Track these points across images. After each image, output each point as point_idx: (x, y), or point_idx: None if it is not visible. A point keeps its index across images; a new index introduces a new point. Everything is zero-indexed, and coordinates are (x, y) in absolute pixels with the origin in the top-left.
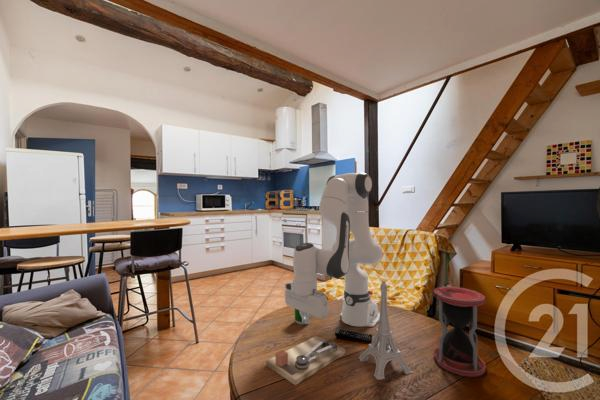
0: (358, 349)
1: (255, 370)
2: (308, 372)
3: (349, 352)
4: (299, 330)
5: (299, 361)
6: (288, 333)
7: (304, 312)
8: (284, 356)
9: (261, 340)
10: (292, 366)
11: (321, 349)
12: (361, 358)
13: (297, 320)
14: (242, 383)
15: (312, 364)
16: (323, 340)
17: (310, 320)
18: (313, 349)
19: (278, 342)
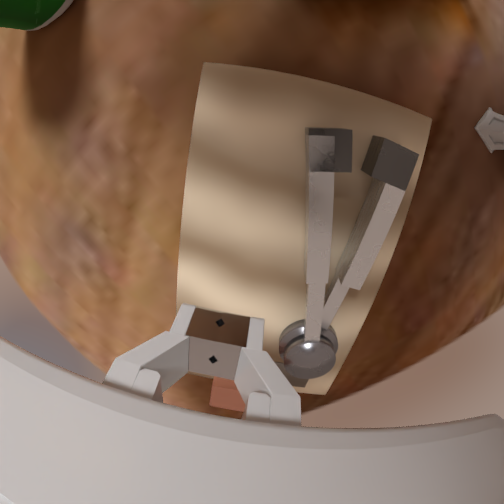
0: (451, 53)
1: (177, 383)
2: (347, 353)
3: (432, 96)
4: (80, 57)
5: (310, 378)
6: (59, 121)
7: (148, 366)
8: None
9: (40, 246)
10: (277, 359)
11: (360, 254)
12: (492, 142)
13: (33, 27)
14: None
15: (342, 315)
16: (323, 151)
17: (263, 334)
18: (320, 278)
19: (84, 218)
